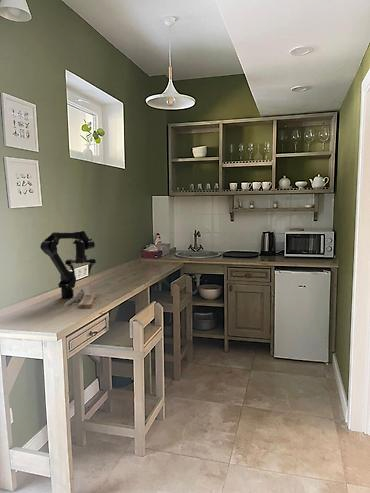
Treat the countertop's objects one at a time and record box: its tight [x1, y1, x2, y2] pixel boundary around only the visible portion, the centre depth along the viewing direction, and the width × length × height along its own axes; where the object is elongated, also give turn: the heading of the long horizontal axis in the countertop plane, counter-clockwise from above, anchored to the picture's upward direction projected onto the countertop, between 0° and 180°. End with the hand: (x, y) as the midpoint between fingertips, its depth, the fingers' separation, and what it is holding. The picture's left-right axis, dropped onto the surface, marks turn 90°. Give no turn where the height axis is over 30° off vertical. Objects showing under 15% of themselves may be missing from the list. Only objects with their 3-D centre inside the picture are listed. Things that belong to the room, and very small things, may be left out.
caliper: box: [62, 288, 85, 308], centre depth 222 cm, size 20×1×6 cm, turn 163°
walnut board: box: [78, 294, 96, 309], centre depth 220 cm, size 6×24×2 cm, turn 8°
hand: (81, 274), depth 245 cm, fingers open, 9 cm apart
